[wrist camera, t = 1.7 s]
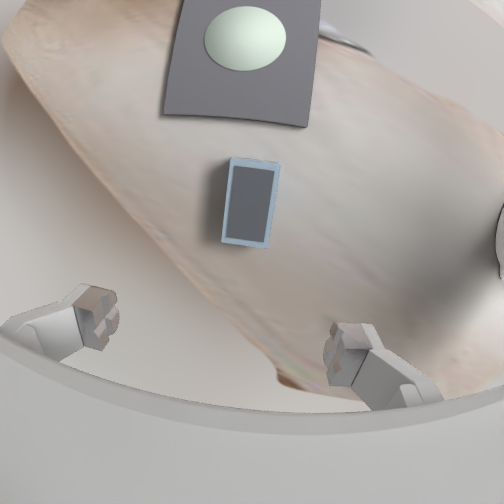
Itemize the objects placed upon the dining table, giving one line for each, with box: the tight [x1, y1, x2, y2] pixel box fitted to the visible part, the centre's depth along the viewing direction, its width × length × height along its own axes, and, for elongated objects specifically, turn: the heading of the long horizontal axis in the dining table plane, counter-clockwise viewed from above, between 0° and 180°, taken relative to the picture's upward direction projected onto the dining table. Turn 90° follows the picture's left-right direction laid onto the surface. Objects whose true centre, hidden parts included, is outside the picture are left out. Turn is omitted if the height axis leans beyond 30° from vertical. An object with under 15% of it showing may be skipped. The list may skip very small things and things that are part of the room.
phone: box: [221, 157, 281, 249], centre depth 30 cm, size 5×9×4 cm, turn 172°
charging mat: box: [163, 0, 321, 128], centre depth 24 cm, size 16×20×1 cm
